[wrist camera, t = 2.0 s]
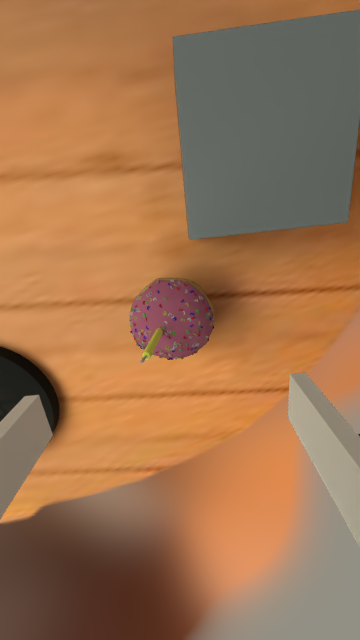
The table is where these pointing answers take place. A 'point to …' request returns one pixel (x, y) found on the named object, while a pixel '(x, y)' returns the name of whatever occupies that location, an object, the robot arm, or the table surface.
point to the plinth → (268, 124)
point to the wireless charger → (25, 385)
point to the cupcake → (171, 318)
